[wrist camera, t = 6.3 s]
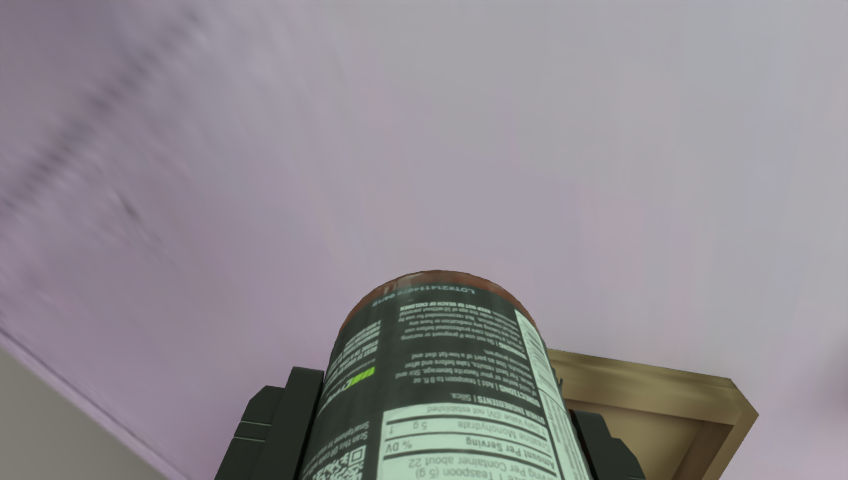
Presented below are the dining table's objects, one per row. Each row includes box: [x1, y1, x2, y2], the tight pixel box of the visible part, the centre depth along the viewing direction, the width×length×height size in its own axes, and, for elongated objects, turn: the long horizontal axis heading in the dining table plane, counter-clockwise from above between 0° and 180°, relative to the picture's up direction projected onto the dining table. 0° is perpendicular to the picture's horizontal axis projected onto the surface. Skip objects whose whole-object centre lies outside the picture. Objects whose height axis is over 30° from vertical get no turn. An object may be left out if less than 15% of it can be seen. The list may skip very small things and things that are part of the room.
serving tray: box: [547, 349, 759, 480], centre depth 32 cm, size 20×16×3 cm
